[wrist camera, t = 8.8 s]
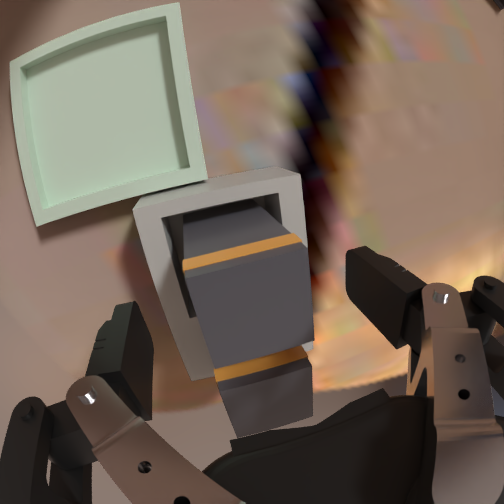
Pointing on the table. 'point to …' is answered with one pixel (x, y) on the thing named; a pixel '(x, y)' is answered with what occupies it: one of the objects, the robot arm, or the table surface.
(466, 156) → the table surface
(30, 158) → the tray
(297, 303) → the plug
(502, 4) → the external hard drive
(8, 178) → the table surface
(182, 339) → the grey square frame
